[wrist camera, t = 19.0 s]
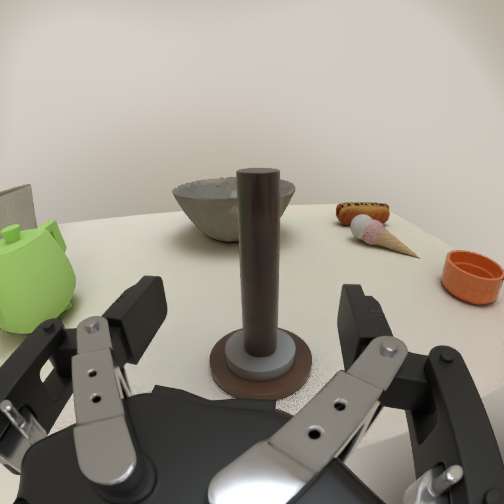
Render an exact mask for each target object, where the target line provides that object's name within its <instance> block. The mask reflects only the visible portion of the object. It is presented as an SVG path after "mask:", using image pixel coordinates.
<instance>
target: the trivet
mask: <svg viewBox="0 0 504 504" xmlns="http://www.w3.org/2000/svg"><path fill="white" fill-rule="evenodd" d="M242 329H243V328H242ZM242 329H239V330H236V331H233V332H231V333H229V334H227V335H226V336H224V337H223V338H221V339H220V340H219V341H218V342H217V343H216V344H215V346H214V347H213V349H212V351H211V354H210V368H211V373H212V376H213V379H214V380H215V382H216V383H217V385H218V386H219V387H220V388H221V389H222V390H224V391H225V392H226V393H228V394H230V395H232V396H234V397H236V398H253V399H267V400H279V399H282V398H285V397H287V396H289V395H291V394H293V393H295V392H296V391H297V390H299V389H300V388H301V387H302V386H303V385H304V384H305V382H306V381H307V379H308V377H309V375H310V371H311V365H312V355H311V351H310V349H309V347H308V346H307V344H306V343H305V342H304V341H303V340H302V339H301V338H300V337H298V336H297V335H295V334H294V333H291V332H289V331H287V330H284V329H281V328H278V329H280V330H282V331H284V332H285V333H287V334H288V335H289V336H290V337H291V338H292V339H293V341H294V343H295V347H296V350H295V360H294V364H293V366H292V367H291V369H290V370H289V371H288V372H287V373H285V374H284V375H282V376H280V377H278V378H276V379H272V380H268V381H252V380H248V379H245V378H242V377H240V376H238V375H236V374H235V373H234V372H233V371H232V370H231V369H230V368H229V366H228V364H227V361H226V354H225V346H226V343H227V341H228V339H229V338H230V337H231V336H232V335H233V334H234V333H236V332H238V331H240V330H242Z"/></svg>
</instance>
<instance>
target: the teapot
mask: <svg viewBox="0 0 504 504" xmlns="http://www.w3.org/2000/svg"><path fill="white" fill-rule="evenodd" d="M0 233H1V235H2V237H3V238H2V239H1V240H0V328H1V329H3V330H5V331H6V332H8V333H11V332H12V333H19V334H27V333H32V332H33V331H34V329H35V328H36V327H37V326H38V325H39V324H40V323H42V322H43V321H45V320H48V319H52V318H57V317H58V316H59V315H60V314H61V313H62V312H63V311H67V310H69V309H70V308H71V307H72V303H71V302H70V300H71V298H72V295H73V292H74V288H75V283H76V278H75V274H74V271H73V268H72V266H71V264H70V262H69V260H68V258H67V256H66V254H65V251H66V248H67V247H66V245H65V242H64V240H63V237H62V235H61V233H60V230H59V228H58V225H57V223H56V221H55V220H54V221H47V222H45V223H44V224H43V225H41V226H40V227H38V228H37V229H29V230H23V231H20V225H19V224H14V225H11V226H8V227H6V228H4V229H2V230H1V232H0Z"/></svg>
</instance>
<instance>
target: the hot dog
mask: <svg viewBox="0 0 504 504" xmlns="http://www.w3.org/2000/svg"><path fill="white" fill-rule="evenodd" d="M361 214H365V215H368V216H369V217H371V218H372V220H378V221H379V222H381V223H382V224H383V223H385V222H386V221H387V220H388V218H389V215H390V212H389V206H388V205H387V204H379V203H368V202H363V203H361V202H360V203H359V202H353V203H342V204H339V205H337V208H336V216H337V218H338V220H339V221H340V222H341V223H343V224H345V225H351V222H352V220H353V218H354V217H356V216H357V215H361Z"/></svg>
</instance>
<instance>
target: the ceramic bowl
mask: <svg viewBox="0 0 504 504" xmlns="http://www.w3.org/2000/svg"><path fill="white" fill-rule="evenodd" d="M294 192H295V186H294V185H293V184H292V183H290V182H288V181H284V180H280V218H281V216H282V215H283V213H284V211H285V209H286V207H287V206H288V204H289V202H290V200H291V197H292V196H293V194H294ZM172 193H173V194H174V197H175V199H176V200H177V202H178V203H179V205H180V206H181V208H182V209H183V211H184V212H185V214H186V215H187V216H188V218H189V219H190V220H191V221H192V222H193V223H194V224H195V226H196V227H197V228H199V229H200V230H201V231H202V232H204V233H205V235H207V236H209V237H211V238H214V239H217V240H220V241H227V242H232V241H239V231H238V205H237V177H229V178H226V180H225V178H219V179H208V180H200V181H195V182H192V183H186V184H185V185H181V186H178V188H175V189H174V190H173V191H172Z"/></svg>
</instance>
